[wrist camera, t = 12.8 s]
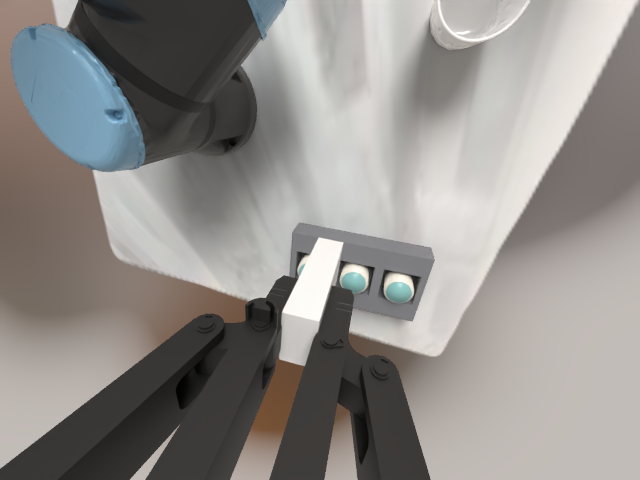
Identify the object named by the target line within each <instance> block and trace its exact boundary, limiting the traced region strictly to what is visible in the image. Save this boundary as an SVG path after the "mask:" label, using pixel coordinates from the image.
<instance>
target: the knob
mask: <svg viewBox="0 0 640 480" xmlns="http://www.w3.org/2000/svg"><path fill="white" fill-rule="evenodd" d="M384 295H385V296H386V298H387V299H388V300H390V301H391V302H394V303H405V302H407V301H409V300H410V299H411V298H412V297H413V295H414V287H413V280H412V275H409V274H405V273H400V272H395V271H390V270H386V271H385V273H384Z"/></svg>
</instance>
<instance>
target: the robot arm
mask: <svg viewBox="0 0 640 480" xmlns="http://www.w3.org/2000/svg"><path fill="white" fill-rule="evenodd" d="M286 1H287V0H78V3H77V5H76V8H75V10H74V12H73V15H72V17H71V20H70V22H69V24H68V26H67V27H66V28H65V29H63V28H61V27H58V26H55V25H52V24H42V25H40V26H38V27H37V26H29V27H26V28H24V29H22V30H21V31H20V32H19V33H18V34H17V35H16V37H15V38H14V41H13V44H12V48H11V67H12V72H13V77H14V80H15V84H16V86H17V89H18V91H19V94H20V96H21V98H22V100H23V102H24V104H25V105H26V108H27V110H28V112H29V114H30V115H31V117H32V118H33V120H34V121H35V123H36V124H37V126H38V127H39V128H40V130H41V131H42V132H43V133H44V135H45V136H46V137H47V138H48V139H49V140H50V141H51V142H52V143H53V144H54V145H55V146H56V147H57V148H58V149H59V150H60V151H61V152H63V153H64V154H65V155H66V156H68V157H69V158H71V159H72V160H74V161H75V162H77V163H79V164H80V165H82V166H85V167H87V168H90V169H93V170H98V171H102V172H114V171H121V170H132V169H137V168H139V167H140V166H142V165H146V164H149V163H153V162H156V161H159V160H163V159H166V158H170V157H173V156H177V155H180V154H183V153H187V152H190V151H191V152H195V153H200V154H204V155H210V156H218V155H224V154H227V153H230V152H233V151H235V150H237V149H238V148H240V147H241V146H242V145H244V144H245V142H246V141H247V140H248V139H249V137H250V135H251V133H252V131H253V129H254V125H255V121H256V99H255V94H254V90H253V87H252V85H251V82H250V80H249V78H248V76H247V74H246V73H245V71H244V70H243V68H242V67H241V64H242V63H243V62H244V60H245V59H246V58H247V57H248V55H249V54H250V53H251V51H252V50H253V49H254V48H255V46H256V45H257V44H258V42H259V41H260V40H261V39H262V40H264V39H265V38H266V36H267V35H266V32H267V31H268V29H269V28H270V26H271V25H272V24H273V22H274V21H275V19H276V18H277V17H278V15H279V14H280V12H281V11H282V10H283V8H284V6H285V4H286ZM343 243H344V242H339V241H334V240H329V239H324V238H318V240H317V242H316V244H315V246H314V248H313V250H312V252H311V254H310V256H309V258H308V260H307V262H306V264H305V266H304V268H303V270H302V272H301V275H300V277H299V279H297V278H293V277H289V276H282V277H281V278H279V279H278V280H276V282H275V284H274V285H273V287H272V289H271V290H270V292H269V294H268V295H267V297H266V298H257V299H254V300H251V301H249V302H248V303H247V304H246V306H245V308H246V321H244V322H241V323H224V321H223V319H222V318H221V317H220V316H218V315H215V314H205V315H201V316H199V317H197V318H195V319H193V320H192V321H191V322H190V323H188V324H187V325H186V326H184V327H183V328H182V329H181V330H179V331H178V332H177V333H176V334H174V335H173V336H172V337H170V338H169V339H168V340H166V341H165V342H164V343H163V344H161V345H160V346H159V347H157V348H156V349H155V350H153V351H152V352H151V353H150V354H148V355H147V356H146V357H144V358H143V359H142V360H141V361H139V362H138V363H137V364H135V365H134V366H133V367H132V368H130V369H129V370H128V371H126V372H125V373H124V374H122V375H121V376H120V377H118V378H117V379H116V380H115V381H113V382H112V383H111V384H109V385H108V386H107V387H106V388H104V389H103V390H102V391H100V392H99V393H98V394H97V395H95V396H94V397H93V398H91V399H90V400H89V401H88V402H87V403H85V404H84V405H82V406H81V407H80V408H78V409H77V410H76V411H75V412H73V413H72V414H71V415H69V416H68V417H67V418H66V419H64V420H63V421H62V422H60V423H59V424H58V425H56V426H55V427H54V428H53V429H51V430H50V431H49V432H47V433H46V434H45V435H43V436H42V437H41V438H40V439H38V440H37V441H36V442H35V443H33V444H32V445H31V446H29V447H28V448H27V449H25V450H24V451H23V452H21V453H20V454H19V455H18V456H16V457H15V458H14V459H12V460H11V461H10V462H9V463H7V464H6V465H5V466H3V467H2V468H1V469H0V480H130V479H131V477H132V476H133V475H134V474H135V473H136V472H137V471H138V470H139V469H140V468H141V466H142V465H143V464H144V463H145V462H146V461H147V460H148V459H149V458H150V457H151V455H152V454H153V453H154V452H155V451H156V450H157V449H158V448H159V447H160V446H161V444H162V443H163V442H164V441H165V440H166V439H167V438H168V437H169V436H170V435H171V433H172V432H173V431H174V430H175V429H176V428H177V427H178V426H179V425H180V426H179V428H178V429H177V431H176V432H175V434H174V435H173V437H172V438H171V440H170V442H169V443H168V445H167V447H166V448H165V450H164V451H163V453H162V454H161V456H160V457H159V459H158V461H157V462H156V464H155V465H154V467H153V469H152V470H151V472H150V474H149V475H148V476H147V478H146V480H230V478H231V476H232V473H233V471H234V468H235V466H236V464H237V461H238V459H239V456H240V453H241V451H242V449H243V446H244V444H245V441H246V439H247V436H248V434H249V432H250V429H251V427H252V425H253V422H254V420H255V417H256V415H257V412H258V410H259V407H260V405H261V403H262V400H263V398H264V395H265V393H266V390H267V388H268V386H269V383H270V380H271V378H272V376H273V373H274V370H275V365H276V359H277V357H278V355H279V359H280V360H284V361H287V362H291V363H295V364H298V365H302V366H305V367H304V371H303V374H302V377H301V380H300V383H299V387H298V390H297V393H296V396H295V399H294V402H293V406H292V409H291V412H290V415H289V418H288V422H287V425H286V428H285V432H284V435H283V438H282V441H281V444H280V447H279V451H278V454H277V457H276V460H275V464H274V467H273V470H272V473H271V476H270V479H269V480H324V478H325V472H326V466H327V460H328V454H329V448H330V442H331V436H332V430H333V425H334V419H335V413H336V407H337V403H339V404H340V405H342V406H343V407H345V408H346V409H348V410H349V411H350V416H351V424H352V433H353V442H354V451H355V460H356V469H357V478H358V480H430V476H429V473H428V469H427V466H426V463H425V459H424V456H423V453H422V449H421V446H420V443H419V439H418V436H417V433H416V429H415V426H414V422H413V419H412V416H411V412H410V409H409V406H408V402H407V399H406V396H405V392H404V389H403V386H402V382H401V379H400V376H399V372H398V370H397V368H396V366H395V365H394V364H393V363H392V362H391V361H390V360H389V359H387V358H385V357H383V356H379V355H372V356H369V357H367V358H366V357H364V356H362V355H361V354H359V353H357V352H356V351H355V350H354V349H353V348H352V347H351V345H350V343H349V340H348V333H349V327H350V321H351V315H352V309H353V303H354V295H353V293H352V290H349V289H345V288H340V287H336V286H335V285H336V282H337V277H338V271H339V266H340V260H341V254H342V249H343ZM181 422H182V423H181Z"/></svg>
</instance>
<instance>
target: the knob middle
mask: <svg viewBox="0 0 640 480" xmlns="http://www.w3.org/2000/svg"><path fill="white" fill-rule="evenodd" d="M369 270H370V266H366V265H361V264H356V263H351V262H346V261H345V262H344V265H343V268H342V272H341V276H340V285H341V287H342V288H345V289H349V290H352V293H361V292H363V291H364V290H365V289H366V288H367V286H368V280H369Z"/></svg>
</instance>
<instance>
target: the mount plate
mask: <svg viewBox="0 0 640 480" xmlns="http://www.w3.org/2000/svg"><path fill="white" fill-rule="evenodd" d="M318 238H324V239H329V240H334V241H339V242H344V243H343V249H342V254H341V260H342V261H346V262H351V263H356V264H361V265H366V266H371V267H373V271H372V275H371V279H370V282H368V286H367V288H366V289H365V290H364V291H363V292H361V293H353V295H354V303H353V308H356V309H360V310H365V311H369V312H373V313H378V314H382V315H386V316H391V317H395V318H399V319H404V320H408V321H413V319H414V316H415V313H416V310H417V308H418V305H419V302H420V299H421V296H422V294H423V291H424V288H425V285H426V283H427V280H428V277H429V274H430V272H431V269H432V266H433V263H434V261H435V260H434V256H433V253H432V249H431V248H429V247H424V246H419V245H413V244H408V243H403V242H398V241H392V240H387V239H382V238H377V237H371V236H366V235H361V234H356V233H351V232H345V231H340V230H335V229H330V228H324V227H319V226H314V225H309V224H303V223H299V224H298V225H297V227H296V228H295V229H294V231H293V232H292V248H291V264H290V277H293V278H297V279H299V276H298V273H297V269H298V266H299V264H300V262H301V259H302V252H303V253H308V254H311V252H312V250H313V248H314V246H315V244H316V242H317V240H318ZM341 260H340V264H341ZM384 269H385V270H390V271H395V272H400V273H405V274H409V275H414V276H415V278H414V281H413V287H414V295H413V297H412V298H411V299H410V300H409V301H407V302H405V303H394V302H391V301H390V300H388V299H387V298H386V296H385V295H384V285H380V284H381V280H382V277H383V273H384ZM339 270H340V266H339ZM335 286H336V287H340V288H342V287H341V285H340V276H339V271H338V277H337V282H336V285H335Z"/></svg>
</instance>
